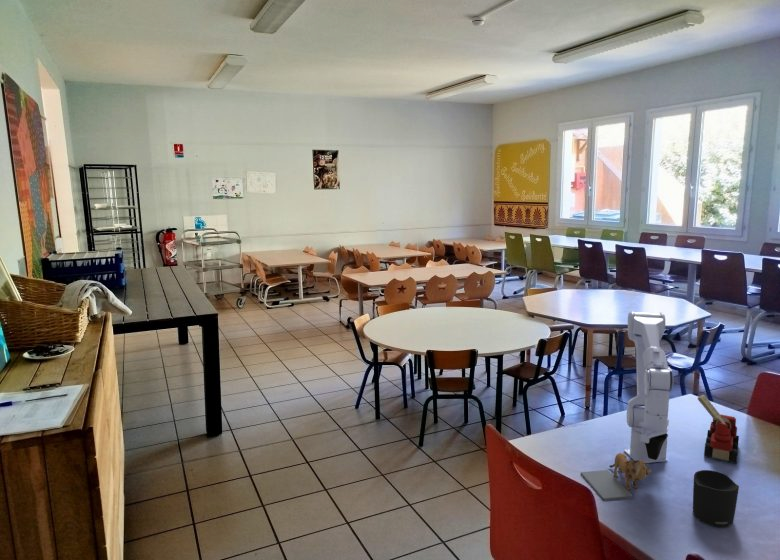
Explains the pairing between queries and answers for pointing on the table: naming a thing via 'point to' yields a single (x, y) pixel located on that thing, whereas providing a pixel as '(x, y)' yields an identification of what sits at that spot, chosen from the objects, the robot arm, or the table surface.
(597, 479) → the rubber mat
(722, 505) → the pen holder
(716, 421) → the toy fire truck
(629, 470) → the lion figurine
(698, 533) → the table surface
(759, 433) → the table surface
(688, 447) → the table surface
